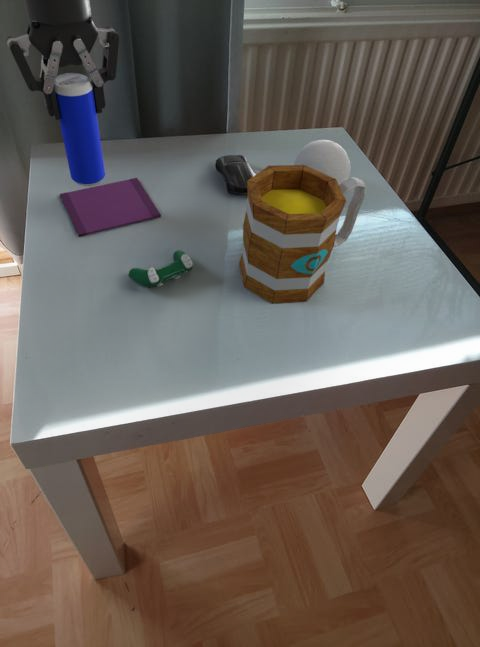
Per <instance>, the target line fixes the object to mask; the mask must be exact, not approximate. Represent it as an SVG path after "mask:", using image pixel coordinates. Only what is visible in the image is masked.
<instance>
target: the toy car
mask: <svg viewBox="0 0 480 647" xmlns="http://www.w3.org/2000/svg"><path fill="white" fill-rule="evenodd" d="M214 166H215V171H216V172H219V173H220V175H222V178H223V180H224V182H225V183H226V191H227V192H228V193H229V194H230V193H232V194H236V195H248V193H247V181H248V180H249V179H250V178H252V177H253V176H255V175H256V174H257V173H255V172H254V170H253V169H252V167H251V165H250V164H249V162H248V160H247V157H246V156H245V155H242V154H228V155H227V154H226V155H222V156H220V157H219V156H218V158H217V159H216V160H215V165H214Z"/></svg>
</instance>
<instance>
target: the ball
mask: <svg viewBox="0 0 480 647" xmlns="http://www.w3.org/2000/svg"><path fill="white" fill-rule="evenodd" d="M293 165H305V166H308V167H310V168H312V169H314V170H317V171H319V172H321V173H323V174H326V175H328V176H330V177H332V178H335V179H336V180H337V182H338V185H339V184H340V183H342V182H343V181H345V180H346V179H348V178H349V177H350V175H351V162H350V158H349V155H348V152H346V150H345V149H344V148H343V147H342V146H341V145H340V144H339V143H337V142H335V141H333V140H330V139H329V140H328V139H318V140H314V141H311V142H309V143H307V144H306V145H304V146H303V147H302V148H301V149H300V151H299V152H298V154H297V155H296V157H295V159H294V163H293Z"/></svg>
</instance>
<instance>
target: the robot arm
mask: <svg viewBox="0 0 480 647" xmlns="http://www.w3.org/2000/svg"><path fill="white" fill-rule="evenodd" d="M23 2H24V8H25V11H26V15H27V20H28V26H27V29H26V34H23V35H20V36H16V37H15V36H12V35H10V36H9V35H8V36H7V37H6V38H5V43H6V45H7V48H8V49H9V51H10V53H11V55H12V57H13V59H14V62H15V63H16V65H17V68H18V69H19V72H20V74H21V76H22V78H23V80H24V83H25V85H26V86H27V88H28V90H29V91H30V92H36V91H39V92H41V93H42V97H43V101H44V106H45V109H46V111H47V113H48V115H49V116H50V117H53V118H54V120H55V121H59V120H60V119H61V118H60V113H59V108H58V103H57V98H56V93H55V92H54V90H53V87H54V82H55V78H56V77H57V76H58V73H59V68H65V67H67V66H70V65H71V66H82V65H83V67H84V69H85V71H86V73H87V74H88V76H89V78H90V82H91V84H92V87H93V94H94V100H95V107H96V114H102V113H103V109H105V108H106V98H105V90H104V85H105V84H106V83H107V82H108V81H114V80H115V79H116V78H117V66H118V58H119V57H118V56H119V46H120V34H118V33H117V32H116V30H114V28H113V27H112V26H109V25H108V26H106V27H105V28H102V27H97V26H96V25H95V23H94V21H93V15H92V9H91V1H90V0H23ZM97 39H99V44H100V45H101V46H102V61H101V68H99V69H98V68H97V66H96V64H95V62H94V61H93V59H92V57H91V51H92V49H93V48H94V46H95V43H96V41H97ZM31 45H32V46H33V47H34V48H35V49H36V50H37V51H38V53H40V55H41V60H40V74H39V76H35V75H34V74H33V71H32V70H31V68H30V66H29V63H28V61H27V59H26V58H28V57H29V55H30V49H29V48H30V46H31Z"/></svg>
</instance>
